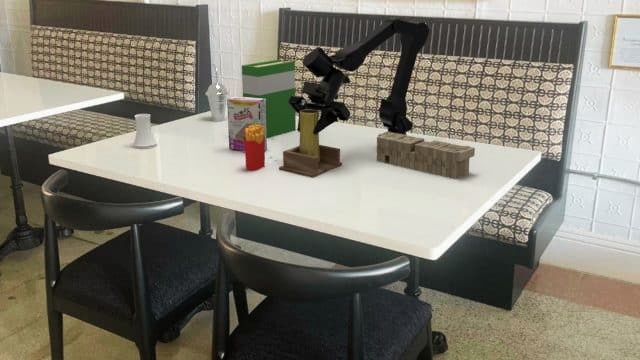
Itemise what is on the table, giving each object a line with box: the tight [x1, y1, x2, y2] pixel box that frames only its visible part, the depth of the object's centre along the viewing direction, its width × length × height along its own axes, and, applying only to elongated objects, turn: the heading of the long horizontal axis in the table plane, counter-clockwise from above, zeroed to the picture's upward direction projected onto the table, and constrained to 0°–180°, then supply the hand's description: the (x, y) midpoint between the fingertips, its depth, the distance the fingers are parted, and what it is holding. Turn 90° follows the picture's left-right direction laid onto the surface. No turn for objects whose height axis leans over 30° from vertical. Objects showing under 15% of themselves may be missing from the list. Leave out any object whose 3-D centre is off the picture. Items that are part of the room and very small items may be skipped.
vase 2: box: [298, 109, 320, 162], centre depth 184 cm, size 6×6×14 cm
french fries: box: [244, 125, 266, 172], centre depth 185 cm, size 8×4×12 cm, turn 153°
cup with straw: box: [205, 63, 229, 122], centre depth 240 cm, size 8×9×20 cm
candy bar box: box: [226, 95, 268, 152], centre depth 201 cm, size 11×5×16 cm, turn 71°
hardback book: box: [241, 59, 297, 139], centre depth 220 cm, size 18×7×24 cm, turn 140°
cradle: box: [278, 144, 343, 179], centre depth 185 cm, size 14×12×5 cm
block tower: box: [376, 131, 476, 180], centre depth 186 cm, size 8×8×29 cm
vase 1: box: [132, 113, 158, 150], centre depth 207 cm, size 8×8×10 cm
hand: (306, 132), depth 182 cm, fingers closed on vase 2, 5 cm apart
